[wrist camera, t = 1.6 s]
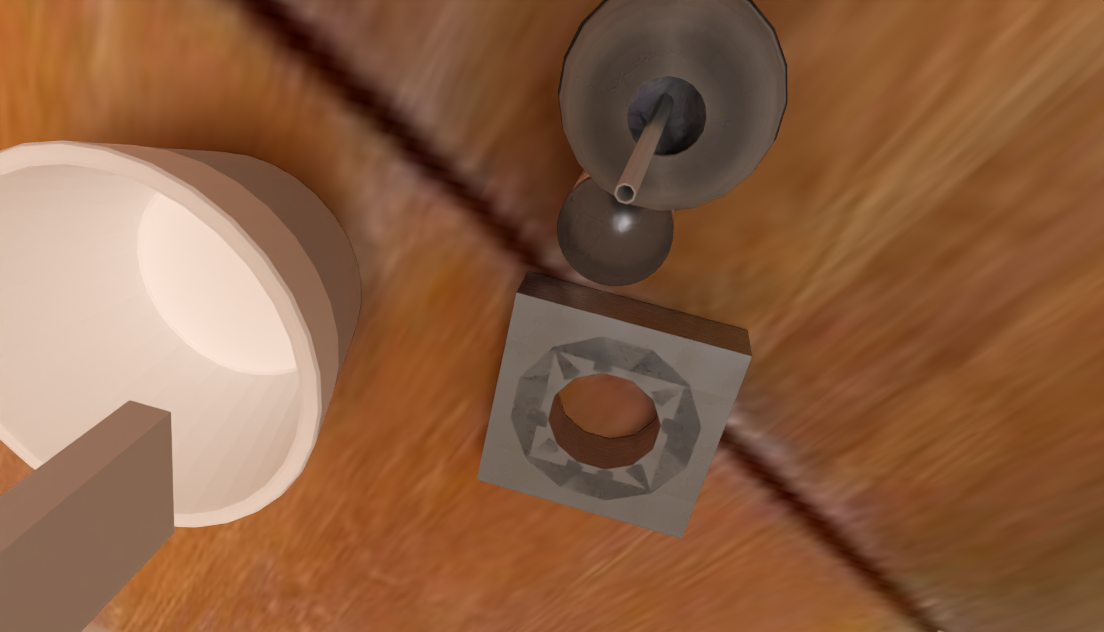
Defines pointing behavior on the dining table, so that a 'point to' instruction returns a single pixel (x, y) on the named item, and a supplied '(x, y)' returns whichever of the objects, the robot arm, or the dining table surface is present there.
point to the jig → (623, 351)
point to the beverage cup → (672, 98)
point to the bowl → (172, 311)
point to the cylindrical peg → (612, 235)
